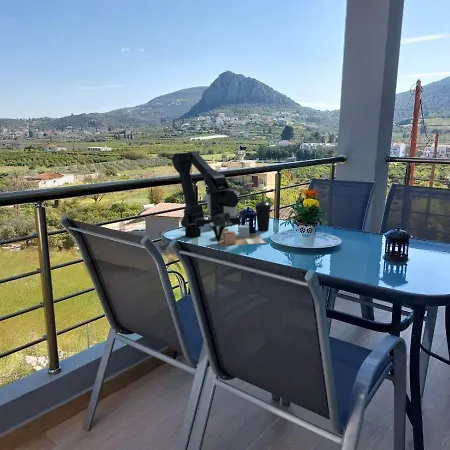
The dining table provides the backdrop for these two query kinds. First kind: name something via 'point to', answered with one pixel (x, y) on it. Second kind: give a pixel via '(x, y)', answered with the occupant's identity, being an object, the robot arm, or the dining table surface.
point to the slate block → (243, 231)
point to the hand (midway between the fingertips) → (218, 241)
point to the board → (244, 240)
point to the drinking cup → (263, 214)
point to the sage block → (222, 232)
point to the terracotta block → (229, 237)
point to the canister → (226, 209)
